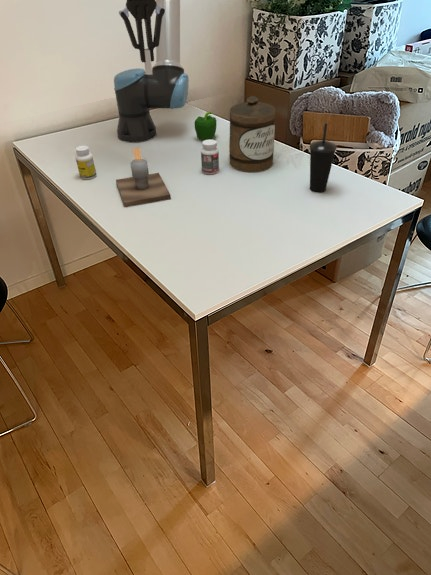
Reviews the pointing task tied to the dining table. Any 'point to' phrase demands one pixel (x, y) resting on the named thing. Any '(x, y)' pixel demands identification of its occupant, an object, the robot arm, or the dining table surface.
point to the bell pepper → (205, 127)
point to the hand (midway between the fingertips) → (148, 73)
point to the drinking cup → (321, 163)
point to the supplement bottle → (85, 163)
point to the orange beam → (139, 165)
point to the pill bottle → (210, 157)
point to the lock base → (142, 190)
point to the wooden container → (251, 135)
